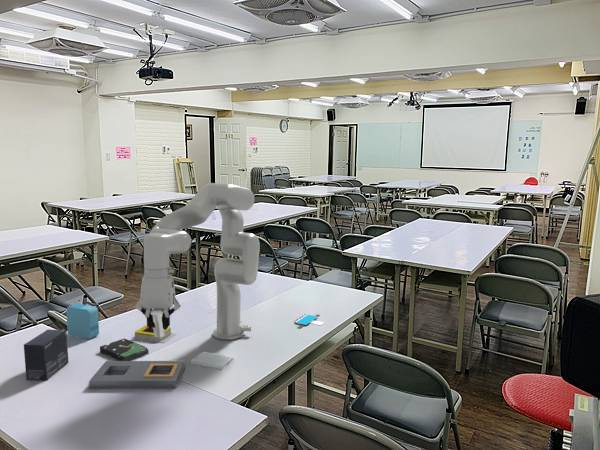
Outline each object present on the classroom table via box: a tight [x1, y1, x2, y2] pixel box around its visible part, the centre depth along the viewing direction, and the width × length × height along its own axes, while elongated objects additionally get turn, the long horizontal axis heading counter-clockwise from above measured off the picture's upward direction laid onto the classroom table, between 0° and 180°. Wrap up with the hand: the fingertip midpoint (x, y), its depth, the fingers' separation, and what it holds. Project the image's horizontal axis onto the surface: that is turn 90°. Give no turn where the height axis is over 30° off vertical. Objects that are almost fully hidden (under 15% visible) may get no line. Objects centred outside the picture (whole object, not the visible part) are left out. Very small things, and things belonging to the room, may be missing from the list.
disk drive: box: [99, 337, 149, 361], centre depth 162 cm, size 10×3×15 cm
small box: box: [23, 329, 69, 381], centre depth 146 cm, size 13×7×12 cm, turn 178°
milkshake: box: [150, 309, 165, 338], centre depth 142 cm, size 4×5×10 cm
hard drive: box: [190, 351, 234, 370], centre depth 158 cm, size 2×8×12 cm
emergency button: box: [131, 324, 177, 344], centre depth 178 cm, size 9×4×15 cm
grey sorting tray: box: [88, 360, 186, 390], centre depth 144 cm, size 26×14×3 cm, turn 94°
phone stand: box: [294, 313, 325, 329], centre depth 200 cm, size 20×12×2 cm, turn 152°
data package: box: [66, 303, 100, 340], centre depth 176 cm, size 12×4×12 cm, turn 69°
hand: (158, 327), depth 143 cm, fingers closed on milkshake, 4 cm apart
